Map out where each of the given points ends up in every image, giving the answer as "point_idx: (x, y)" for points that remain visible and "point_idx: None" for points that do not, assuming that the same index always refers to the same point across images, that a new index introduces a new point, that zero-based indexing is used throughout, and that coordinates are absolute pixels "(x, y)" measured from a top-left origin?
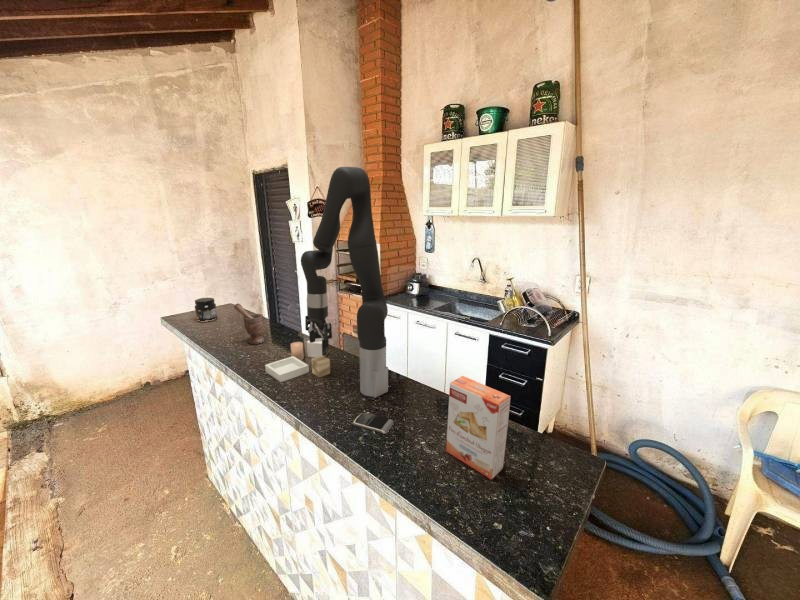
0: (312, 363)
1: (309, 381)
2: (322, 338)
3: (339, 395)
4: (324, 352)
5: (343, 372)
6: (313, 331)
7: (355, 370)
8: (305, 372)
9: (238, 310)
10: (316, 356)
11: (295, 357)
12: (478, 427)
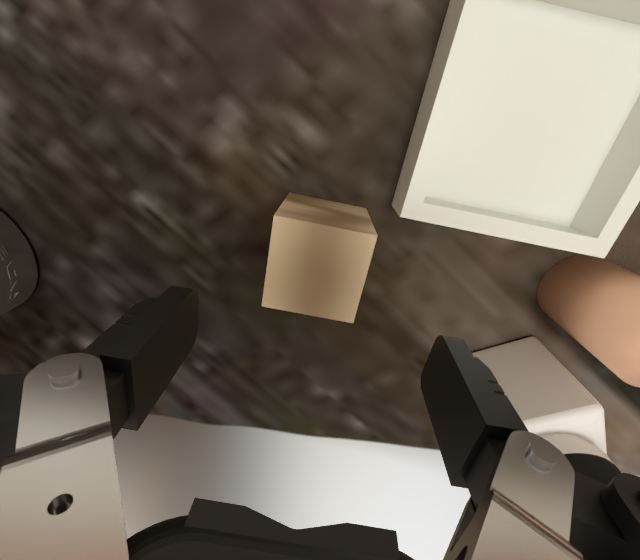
0: (362, 224)
1: (298, 118)
2: (64, 369)
3: (23, 100)
4: None
5: (231, 307)
6: (477, 495)
7: (204, 350)
8: (399, 182)
9: None
10: (480, 356)
11: (585, 270)
12: None
